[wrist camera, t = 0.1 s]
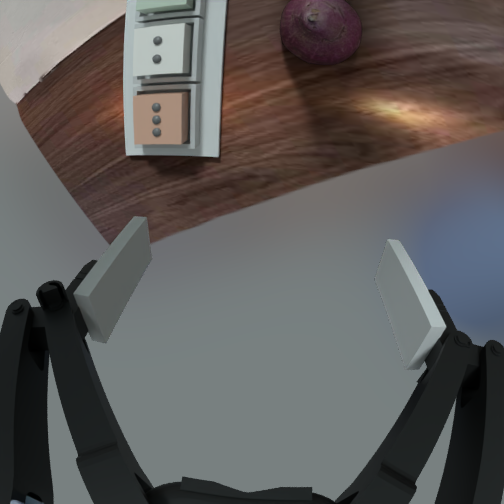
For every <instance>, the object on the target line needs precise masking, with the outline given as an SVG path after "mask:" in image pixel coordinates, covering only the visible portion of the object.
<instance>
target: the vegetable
mask: <svg viewBox="0 0 504 504" xmlns="http://www.w3.org/2000/svg"><path fill="white" fill-rule="evenodd" d="M280 35H281V39H282V44H283V45H285V46H286V48H287V49H288V50H289V51H290V52H292V53H293V54H294V55H295V56H297V57H298V58H300V59H301V60H303V61H306V62H308V63H313V64H321V65H334V64H337V63H340V62H342V61H344V60H346V59H347V58H349V57H350V56H351V55H352V54H353V53H354V52H355V51H356V50H357V48H358V46H359V44H360V41H361V36H362V26H361V21H360V18H359V16H358V14H357V13H356V11H355V10H354V9H353V8H352V7H351V6H350V5H349V4H348V3H347V2H346V1H344V0H291V1H290V2H289V3H288V4H287V5H286V6H285V9H284V11H283V13H282V17H281V23H280Z"/></svg>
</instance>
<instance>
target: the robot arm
mask: <svg viewBox="0 0 504 504" xmlns="http://www.w3.org/2000/svg"><path fill="white" fill-rule="evenodd" d="M151 260H152V255H151V248H150V240H149V232H148V224H147V217H135V216H134V217H133V219H132V220H131V221H130V222H129V223H128V224H127V226H126V227H125V228H124V229H123V230H122V232H121V233H120V234H119V235H118V236H117V238H116V239H115V240H114V241H113V242H112V244H111V245H110V246H109V248H108V249H107V250H106V251H105V252H104V254H103V255H102V256H101V258H100V259H99V260H98V261H96V260H92V261H91V262H89V263H88V264H86V265H85V266H84V267H83V268H82V270H81V271H80V272H79V273H78V275H77V276H76V277H75V279H74V280H73V281H72V282H71V284H70V285H69V286H68V288H67V289H66V290H65V289H64V286H63V284H62V283H61V282H60V281H54V280H53V281H48V282H46V283H44V284H43V285H42V286H40V287H39V288H38V290H37V292H36V296H37V298H38V301H39V303H40V305H41V307H31V305H30V303H29V302H28V300H26V299H18V300H15V301H14V302H13V303H11V304H10V305H9V306H8V308H7V310H6V314H5V317H4V321H3V325H2V328H1V332H0V504H53V485H52V477H51V469H50V457H49V444H48V423H47V391H48V388H47V387H48V367H49V353H50V358H51V363H52V368H53V372H54V377H55V381H56V385H57V389H58V393H59V396H60V400H61V404H62V407H63V411H64V414H65V417H66V420H67V424H68V426H69V430H70V433H71V435H72V439H73V441H74V444H75V447H76V450H77V453H78V457H77V458H76V462H77V466H78V469H79V471H80V474H81V476H82V479H83V481H84V483H85V485H86V488H87V490H88V492H89V494H90V496H91V499H92V501H93V503H94V504H409V502H410V501H411V499H412V497H413V496H414V494H415V492H416V489H417V486H416V485H415V482H416V480H417V478H418V477H419V475H420V473H421V471H422V469H423V468H424V466H425V464H426V462H427V460H428V458H429V456H430V454H431V453H432V451H433V448H434V447H435V445H436V443H437V441H438V438H439V436H440V434H441V432H442V430H443V428H444V425H445V423H446V421H447V419H448V416H449V414H450V411H451V409H452V407H453V404H454V401H455V399H456V406H455V414H454V421H453V427H452V433H451V439H450V445H449V449H448V454H447V459H446V463H445V468H444V472H443V476H442V480H441V483H440V487H439V491H438V494H437V497H436V501H435V504H501V500H502V494H503V489H504V347H503V346H502V345H501V344H500V343H499V342H497V341H495V340H490V341H488V342H487V343H486V344H485V346H484V347H481V346H477V345H474V344H472V341H471V339H470V338H469V337H468V336H467V335H466V334H465V333H463V332H461V331H457V329H456V328H455V325H454V323H453V321H452V319H451V317H450V315H449V313H448V312H447V310H446V308H445V306H444V305H443V302H442V300H441V298H440V297H439V296H438V295H437V294H436V293H435V292H434V291H433V290H428V289H427V288H426V286H425V284H424V282H423V280H422V279H421V277H420V275H419V273H418V271H417V270H416V268H415V266H414V264H413V263H412V261H411V259H410V257H409V256H408V254H407V252H406V251H405V249H404V247H403V245H402V244H401V242H400V241H399V240H392V239H387V242H386V245H385V248H384V251H383V255H382V258H381V261H380V264H379V267H378V270H377V273H376V276H375V279H374V280H375V282H376V285H377V288H378V290H379V293H380V296H381V299H382V301H383V304H384V307H385V310H386V313H387V315H388V318H389V321H390V324H391V327H392V330H393V333H394V336H395V339H396V342H397V346H398V349H399V352H400V355H401V359H402V362H403V365H404V369H405V370H415V369H419V368H420V367H421V365H422V364H423V363H424V361H425V363H426V365H427V368H426V370H425V371H424V373H423V374H422V375H421V377H420V378H419V379H418V381H417V382H418V384H417V386H416V388H415V390H414V392H413V394H412V395H411V397H410V399H409V401H408V402H407V404H406V406H405V408H404V409H403V411H402V413H401V414H400V416H399V418H398V419H397V421H396V422H395V424H394V426H393V427H392V429H391V430H390V432H389V433H388V435H387V436H386V438H385V439H384V441H383V442H382V444H381V445H380V447H379V448H378V450H377V451H376V452H375V454H374V455H373V457H372V458H371V460H370V461H369V462H368V464H367V465H366V467H365V468H364V469H363V470H362V472H361V473H360V474H359V475H358V477H357V478H356V479H355V481H354V482H353V483H352V484H351V485H350V487H348V488H347V489H346V490H345V491H344V492H343V493H342V494H341V495H340V496H339V497H338V498H337V500H335V502H334V501H333V500H331V499H329V498H327V497H325V496H322V495H319V494H316V493H312V487H279V488H274V489H268V490H262V491H256V492H249V493H247V492H242V491H239V490H236V489H233V488H230V487H227V486H224V485H221V484H219V483H216V482H212V481H206V480H199V479H193V478H188V477H182V482H173V483H168V484H163V485H161V486H158V487H155V488H154V487H153V486H152V484H151V483H150V481H149V479H148V478H147V476H146V475H145V474H144V472H143V471H142V469H141V467H140V466H139V464H138V462H137V460H136V459H135V457H134V455H133V453H132V451H131V449H130V447H129V445H128V443H127V441H126V439H125V437H124V435H123V433H122V431H121V429H120V426H119V424H118V422H117V420H116V418H115V415H114V413H113V411H112V409H111V406H110V404H109V402H108V399H107V397H106V395H105V392H104V389H103V387H102V384H101V382H100V379H99V376H98V374H97V371H96V368H95V366H94V363H93V360H92V357H91V354H90V351H89V348H88V345H87V342H86V340H85V336H86V334H87V332H89V334H90V337H91V339H92V340H93V341H97V342H102V343H107V341H108V339H109V337H110V335H111V333H112V331H113V329H114V327H115V325H116V323H117V322H118V320H119V318H120V316H121V314H122V312H123V310H124V308H125V306H126V304H127V302H128V301H129V299H130V297H131V295H132V294H133V292H134V290H135V288H136V286H137V285H138V283H139V281H140V279H141V277H142V276H143V274H144V272H145V271H146V268H147V267H148V265H149V264H150V262H151ZM456 396H457V397H456Z"/></svg>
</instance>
